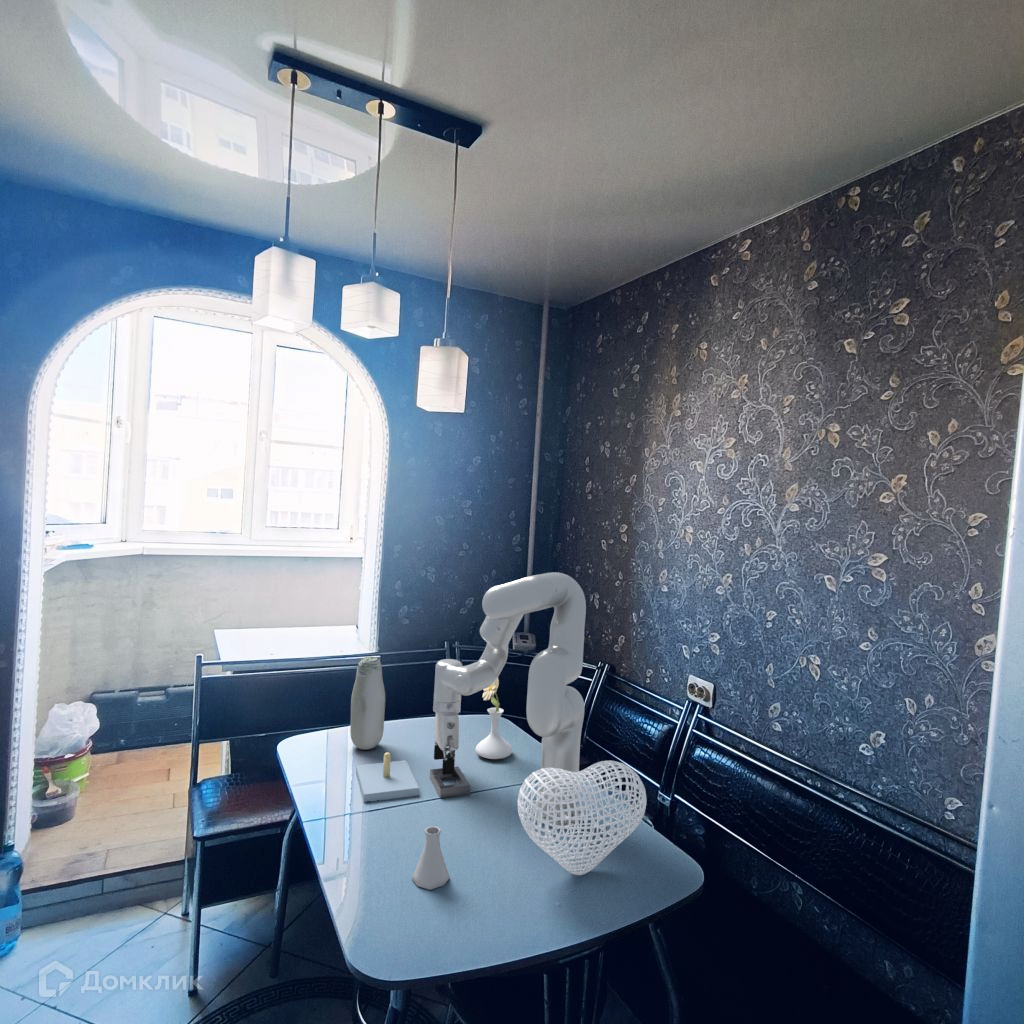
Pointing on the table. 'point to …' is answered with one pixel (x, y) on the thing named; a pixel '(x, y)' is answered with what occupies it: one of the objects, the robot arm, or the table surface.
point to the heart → (581, 777)
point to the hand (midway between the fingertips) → (443, 766)
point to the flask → (431, 862)
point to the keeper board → (386, 780)
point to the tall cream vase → (367, 704)
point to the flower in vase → (493, 730)
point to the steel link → (450, 790)
